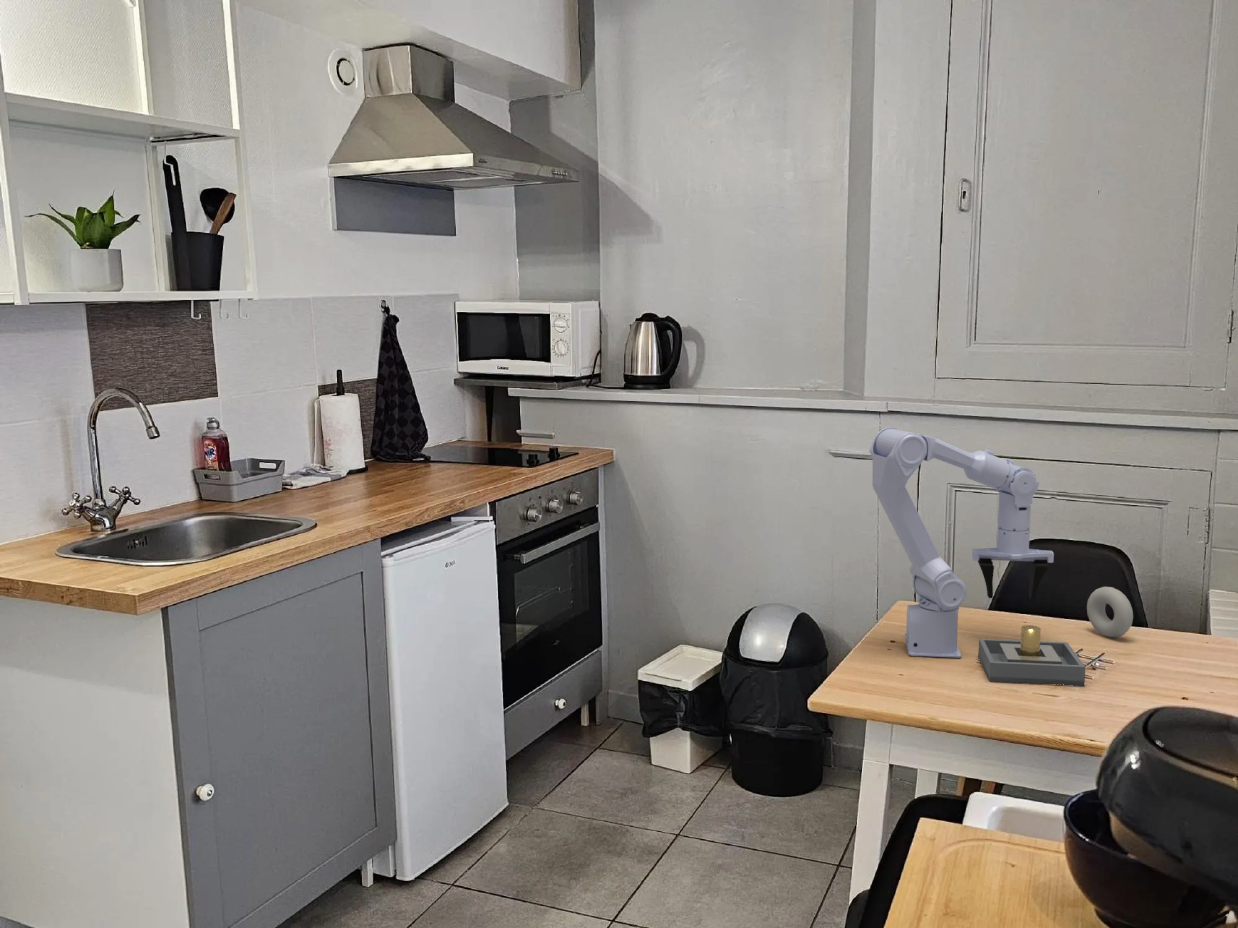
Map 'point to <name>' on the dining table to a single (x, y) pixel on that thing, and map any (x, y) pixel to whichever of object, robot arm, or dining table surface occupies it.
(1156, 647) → the dining table surface
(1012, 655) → the inlet
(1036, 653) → the connector
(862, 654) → the dining table surface
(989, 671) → the box
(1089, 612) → the donut
